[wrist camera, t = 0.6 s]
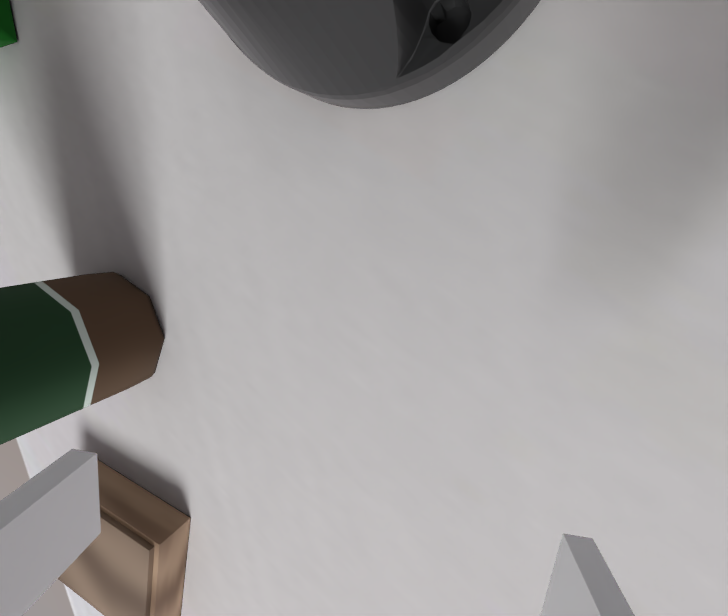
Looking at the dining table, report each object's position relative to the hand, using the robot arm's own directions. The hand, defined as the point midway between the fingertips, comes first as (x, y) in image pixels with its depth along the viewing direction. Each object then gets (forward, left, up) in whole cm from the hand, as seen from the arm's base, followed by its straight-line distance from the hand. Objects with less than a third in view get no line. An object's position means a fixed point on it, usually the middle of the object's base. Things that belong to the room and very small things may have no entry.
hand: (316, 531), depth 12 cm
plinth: (+21, -18, -10) cm, 29 cm away
